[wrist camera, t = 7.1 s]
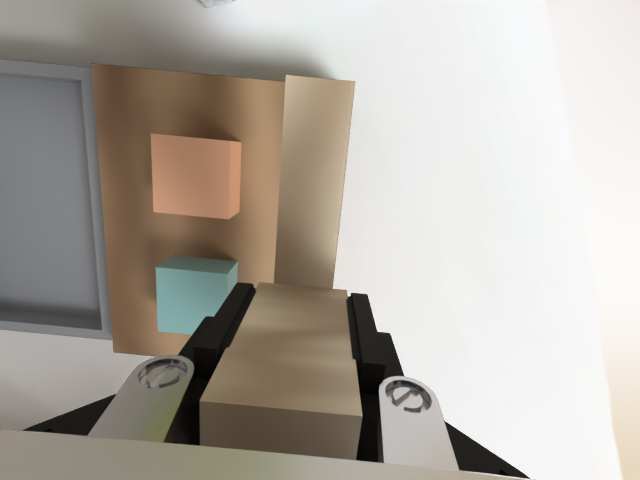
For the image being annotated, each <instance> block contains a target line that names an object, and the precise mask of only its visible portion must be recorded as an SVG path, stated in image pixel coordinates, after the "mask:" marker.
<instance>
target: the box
mask: <svg viewBox="0 0 640 480" xmlns="http://www.w3.org/2000/svg"><path fill="white" fill-rule="evenodd" d="M0 329H1V330H12V331H22V332H32V333H43V334H53V335H63V336H74V337H84V338H94V339H105V340H113V338H112V325H111V312H110V299H109V286H108V272H107V259H106V246H105V233H104V220H103V207H102V194H101V181H100V168H99V155H98V142H97V129H96V116H95V103H94V90H93V77H92V68H89V67H79V66H69V65H58V64H48V63H37V62H27V61H16V60H6V59H0Z"/></svg>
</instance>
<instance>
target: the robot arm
mask: <svg viewBox="0 0 640 480" xmlns="http://www.w3.org/2000/svg"><path fill="white" fill-rule="evenodd" d="M255 289H256V288H254V285H253V284H252V283H241V282H237V283H236V284H235V286H234V287H233V289H232V290H231V292H230V293H229V295H228V296H227V298H226V299H225V301H224V302H223V304H222V305H221V307H220V308H219V310H218V311H217V313H216V314H215V316H214V317H213V316H206V317H205V318H204V319H203V320H202V322H201V323H200V325H199V326H198V327H197V329H196V330H195V332H194V333H193V334H192V336H191V337H190V338H189V340H188V341H187V343H186V344H185V345H184V347H183V348H182V350H181V351H180V352H179V354H178V355H163V356H159V357H155V358H152V359H150V360H147V361H145V362H143V363H142V364H140V365H139V366H138V367H137V368H136V369H135V370H134V371H133V372H132V373H131V375H130V376H129V377H128V379H127V380H126V382H125V383H124V384H123V386H122V387H121V389H120V390H119V392H118V393H117V394H115V395H112V396H109V397H107V398H104V399H102V400H99V401H96V402H94V403H91V404H89V405H86V406H83V407H81V408H78V409H76V410H73V411H70V412H68V413H65V414H63V415H60V416H57V417H55V418H52V419H50V420H47V421H44V422H42V423H39V424H37V425H34V426H31V427H29V428H27V429H25V430H22V431H14V430H0V480H534V479H530V478H529V477H527V476H526V475H525V474H524V473H522V472H521V471H519V470H518V469H516V468H515V467H513V466H512V465H510V464H509V463H507V462H506V461H504V460H503V459H501V458H500V457H498V456H496V455H495V454H493V453H492V452H490V451H489V450H487V449H486V448H484V447H483V446H481V445H480V444H478V443H477V442H475V441H474V440H472V439H471V438H469V437H468V436H466V435H465V434H463V433H462V432H460V431H459V430H457V429H456V428H454V427H453V426H451V425H450V424H448V423H447V422H445V421H444V418H443V415H442V412H441V409H440V405H439V402H438V399H437V397H436V395H435V393H434V392H433V391H432V390H431V389H430V388H429V387H427V386H426V385H425V384H423V383H422V382H420V381H417V380H415V379H413V378H409V377H405V376H404V374H403V371H402V368H401V365H400V362H399V359H398V356H397V353H396V350H395V347H394V344H393V341H392V338H391V335H390V333H383V332H377V329H376V326H375V322H374V318H373V314H372V310H371V307H370V303H369V299H368V295H367V294H358V293H351V296H350V297H348V299H346V305H347V313H348V322H349V331H350V340H351V349H352V358H353V359H355V360H356V368H357V376H358V384H359V391H360V399H361V407H362V415H363V417H362V423H361V430H360V436H359V443H358V449H357V455H356V460H347V459H337V458H326V457H316V456H305V455H294V454H284V453H273V452H263V451H251V450H240V449H229V448H218V447H207V446H200V399H201V397H202V395H203V393H204V391H205V389H206V387H207V385H208V383H209V381H210V379H211V377H212V375H213V373H214V371H215V369H216V367H217V365H218V363H219V361H220V359H221V357H222V355H223V353H224V351H225V349H226V348H229V347H230V345H231V343H232V341H233V339H234V337H235V335H236V332H237V330H238V328H239V326H240V324H241V322H242V320H243V318H244V316H245V314H246V312H247V310H248V308H249V306H250V304H251V302H252V299H253V297H254V295H255V293H256V290H255Z"/></svg>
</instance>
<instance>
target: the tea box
mask: <svg viewBox="0 0 640 480" xmlns="http://www.w3.org/2000/svg"><path fill="white" fill-rule="evenodd" d="M199 1H200V2H201V3H202V4H203V5H204V7H212V6H216V5H221V4H225V3H228V2H232V1H236V0H199Z"/></svg>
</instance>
